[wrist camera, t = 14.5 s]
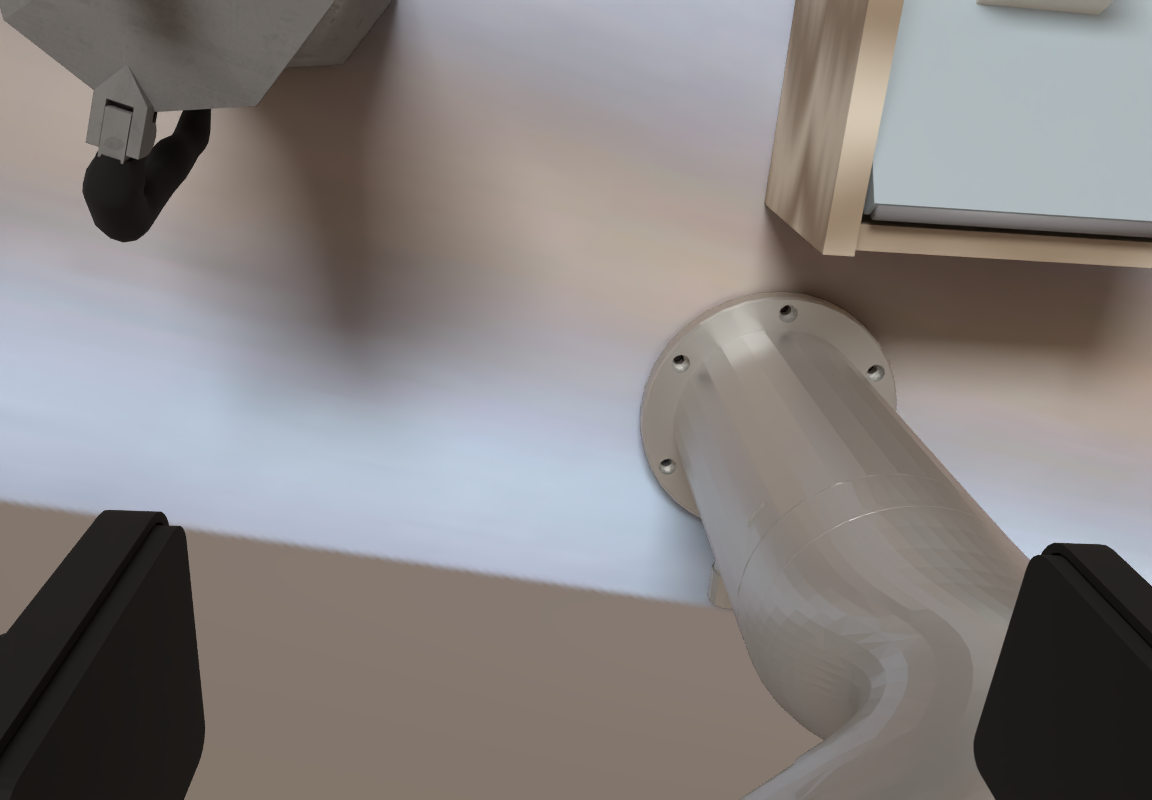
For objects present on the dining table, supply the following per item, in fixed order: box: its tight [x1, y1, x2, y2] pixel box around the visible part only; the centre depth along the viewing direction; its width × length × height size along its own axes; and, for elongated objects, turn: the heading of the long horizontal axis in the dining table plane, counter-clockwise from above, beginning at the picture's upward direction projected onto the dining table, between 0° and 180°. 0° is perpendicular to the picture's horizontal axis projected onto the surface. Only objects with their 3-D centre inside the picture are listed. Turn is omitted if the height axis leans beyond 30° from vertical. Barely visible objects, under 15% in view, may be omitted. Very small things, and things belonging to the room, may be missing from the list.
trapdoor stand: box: [765, 0, 1152, 268], centre depth 37 cm, size 16×17×9 cm
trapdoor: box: [864, 0, 1152, 238], centre depth 37 cm, size 14×14×1 cm
